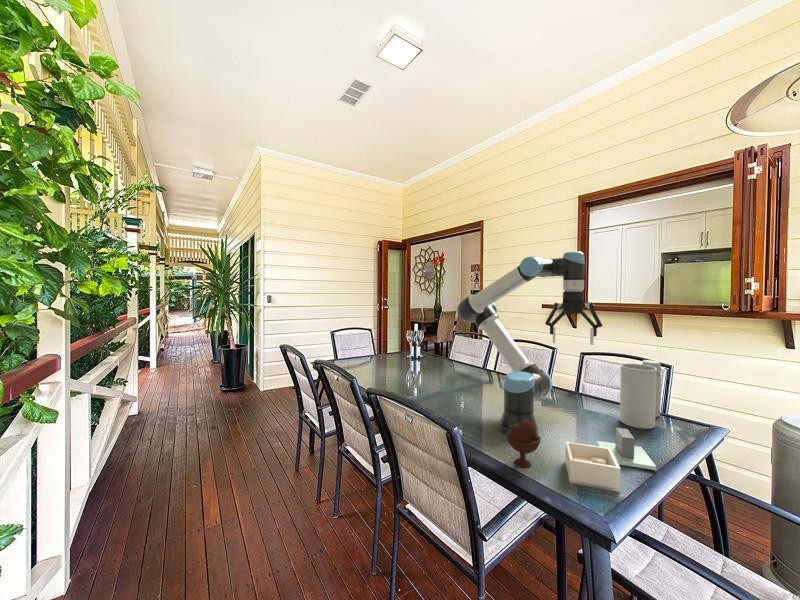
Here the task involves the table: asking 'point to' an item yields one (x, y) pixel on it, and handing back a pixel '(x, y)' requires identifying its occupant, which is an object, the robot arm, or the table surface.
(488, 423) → the table surface
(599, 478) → the crate
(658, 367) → the water bottle
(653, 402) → the cylinder vase
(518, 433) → the ice cream bowl
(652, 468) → the lid
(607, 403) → the table surface
